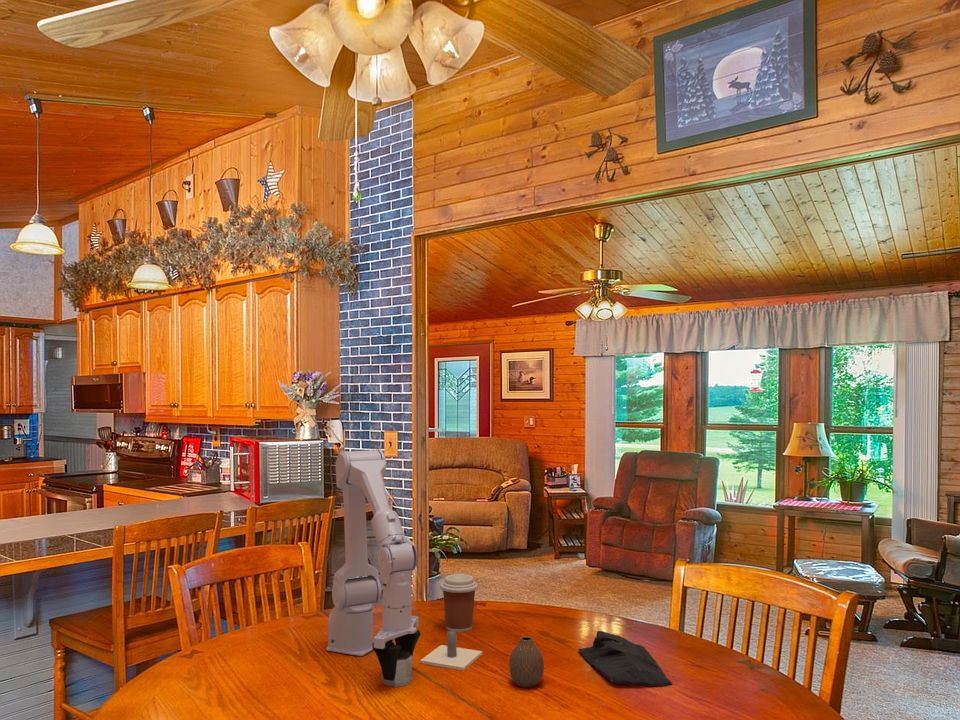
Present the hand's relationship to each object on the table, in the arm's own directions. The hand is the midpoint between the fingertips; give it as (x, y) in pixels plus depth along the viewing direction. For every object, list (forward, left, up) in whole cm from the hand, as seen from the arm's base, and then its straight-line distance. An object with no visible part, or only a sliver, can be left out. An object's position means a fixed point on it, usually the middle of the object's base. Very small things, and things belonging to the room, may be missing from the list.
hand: (396, 673), depth 144 cm
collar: (0, 0, -1) cm, 1 cm away
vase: (+24, +9, -2) cm, 26 cm away
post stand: (+5, +15, -1) cm, 16 cm away
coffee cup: (-2, +34, -2) cm, 34 cm away
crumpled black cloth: (+40, +25, -2) cm, 47 cm away
